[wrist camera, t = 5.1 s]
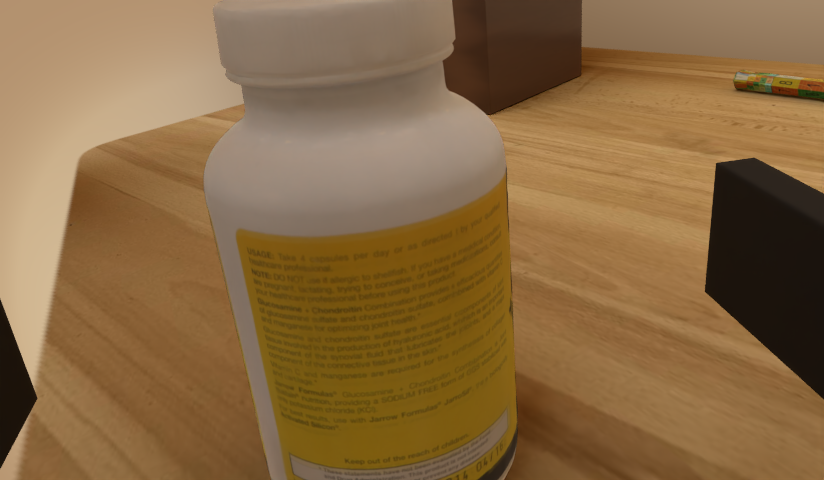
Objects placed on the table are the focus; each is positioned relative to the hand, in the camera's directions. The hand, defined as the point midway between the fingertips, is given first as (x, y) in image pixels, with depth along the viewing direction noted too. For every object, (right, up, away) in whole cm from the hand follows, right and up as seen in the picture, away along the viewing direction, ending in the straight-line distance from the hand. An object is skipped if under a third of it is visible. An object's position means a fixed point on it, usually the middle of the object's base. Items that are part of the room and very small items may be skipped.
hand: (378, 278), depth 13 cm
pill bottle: (0, -5, +6) cm, 8 cm away
